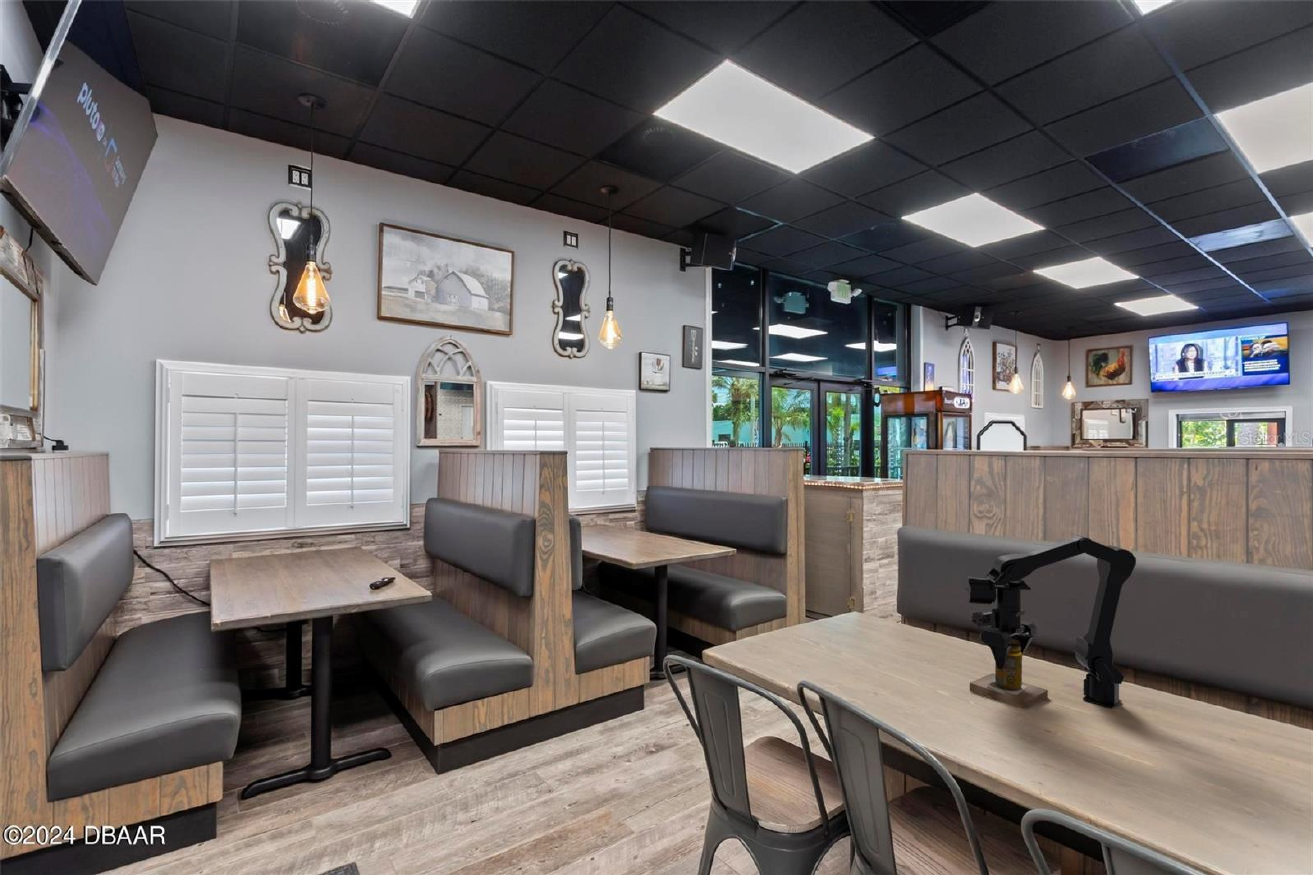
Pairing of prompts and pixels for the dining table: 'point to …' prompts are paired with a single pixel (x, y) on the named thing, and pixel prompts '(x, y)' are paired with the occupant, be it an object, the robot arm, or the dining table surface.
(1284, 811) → the dining table surface
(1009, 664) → the condiment
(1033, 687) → the stand
